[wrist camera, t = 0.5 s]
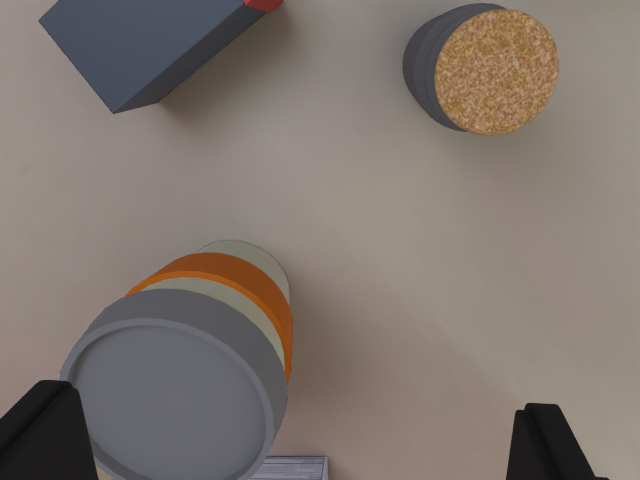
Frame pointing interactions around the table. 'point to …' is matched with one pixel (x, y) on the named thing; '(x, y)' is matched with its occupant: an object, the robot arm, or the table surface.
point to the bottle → (482, 68)
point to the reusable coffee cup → (189, 368)
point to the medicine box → (292, 469)
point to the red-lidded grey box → (145, 42)
